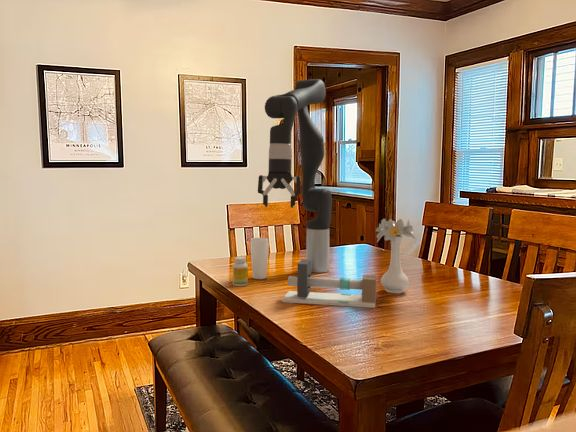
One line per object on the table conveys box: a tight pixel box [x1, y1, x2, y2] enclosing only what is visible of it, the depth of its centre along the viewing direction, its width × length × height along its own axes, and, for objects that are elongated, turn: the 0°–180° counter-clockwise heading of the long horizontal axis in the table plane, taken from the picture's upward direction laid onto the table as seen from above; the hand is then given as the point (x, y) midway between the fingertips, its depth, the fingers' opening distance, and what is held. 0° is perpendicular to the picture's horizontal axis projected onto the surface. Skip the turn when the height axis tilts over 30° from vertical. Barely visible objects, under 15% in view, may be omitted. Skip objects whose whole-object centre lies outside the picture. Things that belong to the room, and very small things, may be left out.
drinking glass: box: [249, 237, 270, 280], centre depth 187 cm, size 7×7×15 cm
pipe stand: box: [281, 274, 377, 309], centre depth 157 cm, size 28×11×8 cm, turn 79°
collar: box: [296, 258, 312, 297], centre depth 158 cm, size 3×8×10 cm, turn 169°
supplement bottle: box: [232, 256, 249, 287], centre depth 177 cm, size 5×5×10 cm
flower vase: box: [375, 218, 417, 294], centre depth 168 cm, size 13×18×25 cm
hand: (279, 207), depth 165 cm, fingers open, 8 cm apart
